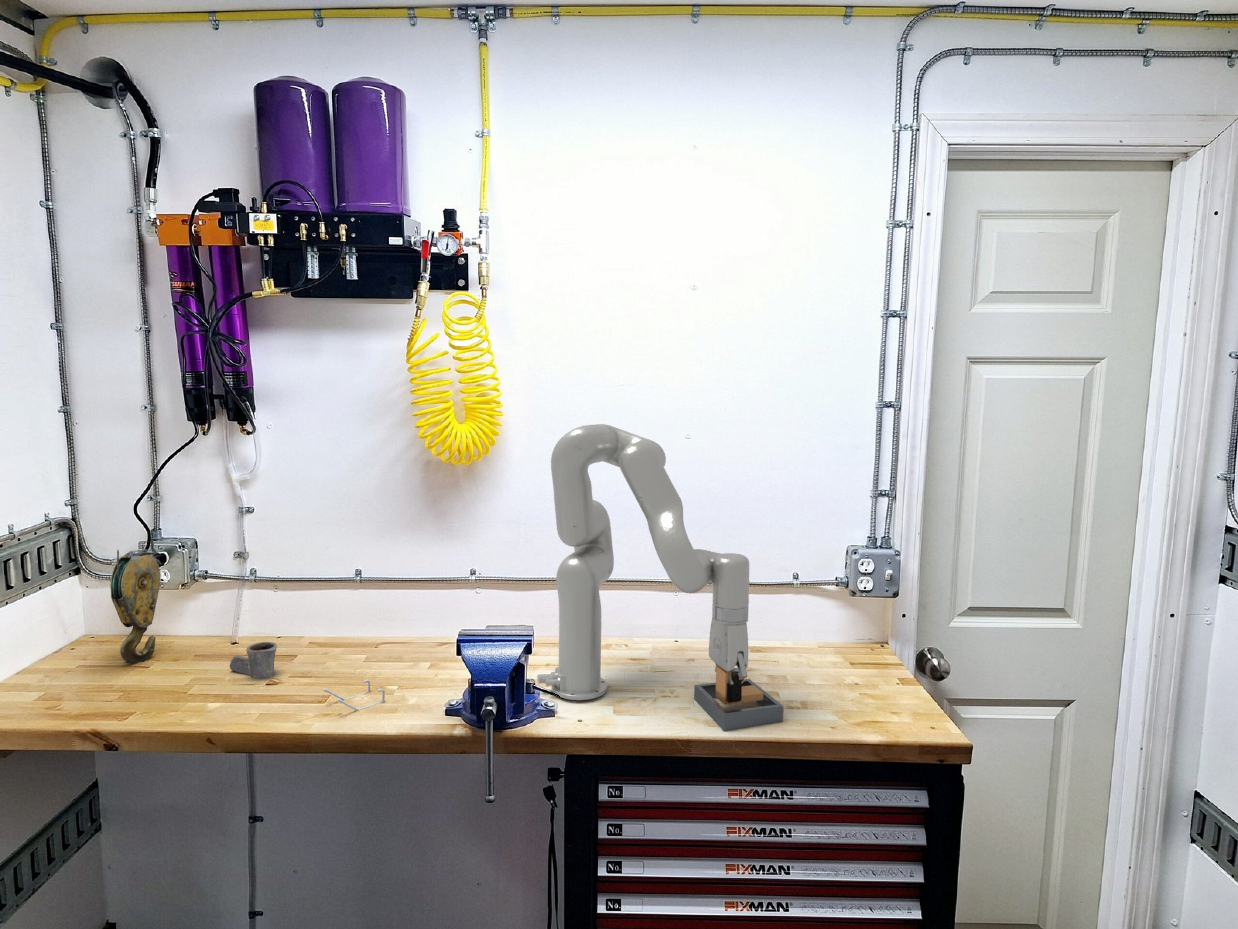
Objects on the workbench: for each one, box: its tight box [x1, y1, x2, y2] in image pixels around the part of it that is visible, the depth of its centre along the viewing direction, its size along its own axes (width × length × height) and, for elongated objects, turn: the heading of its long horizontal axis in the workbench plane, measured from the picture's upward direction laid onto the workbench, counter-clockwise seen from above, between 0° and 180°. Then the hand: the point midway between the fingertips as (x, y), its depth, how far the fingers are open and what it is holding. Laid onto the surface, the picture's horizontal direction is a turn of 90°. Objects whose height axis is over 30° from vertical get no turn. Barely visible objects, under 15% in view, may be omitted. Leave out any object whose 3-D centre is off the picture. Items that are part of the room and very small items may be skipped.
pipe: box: [229, 641, 278, 680], centre depth 172 cm, size 6×13×8 cm, turn 71°
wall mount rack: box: [322, 679, 385, 711], centre depth 158 cm, size 12×11×4 cm
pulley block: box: [110, 539, 162, 665], centre depth 179 cm, size 14×6×30 cm, turn 179°
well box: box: [693, 678, 785, 732], centre depth 156 cm, size 14×15×5 cm
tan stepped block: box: [715, 664, 763, 706], centre depth 155 cm, size 9×4×7 cm, turn 108°
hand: (728, 695), depth 155 cm, fingers closed on tan stepped block, 4 cm apart
